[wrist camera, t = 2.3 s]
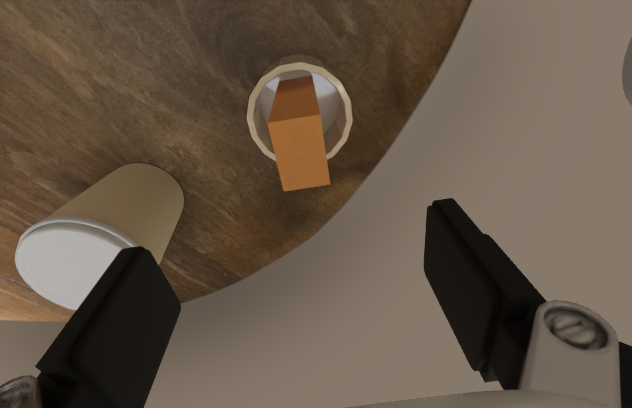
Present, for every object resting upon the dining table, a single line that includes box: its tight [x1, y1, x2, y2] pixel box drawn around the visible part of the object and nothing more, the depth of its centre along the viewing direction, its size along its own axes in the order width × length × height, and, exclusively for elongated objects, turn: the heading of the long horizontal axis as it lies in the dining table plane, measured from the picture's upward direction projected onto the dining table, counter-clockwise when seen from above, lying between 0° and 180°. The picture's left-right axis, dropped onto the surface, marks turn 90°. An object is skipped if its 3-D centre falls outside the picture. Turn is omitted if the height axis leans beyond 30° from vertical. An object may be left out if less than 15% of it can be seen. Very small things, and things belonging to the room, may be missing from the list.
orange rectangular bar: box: [267, 76, 330, 191], centre depth 23 cm, size 3×4×12 cm, turn 9°
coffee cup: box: [15, 163, 184, 310], centre depth 28 cm, size 9×9×12 cm
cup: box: [247, 54, 353, 161], centre depth 26 cm, size 8×8×6 cm
